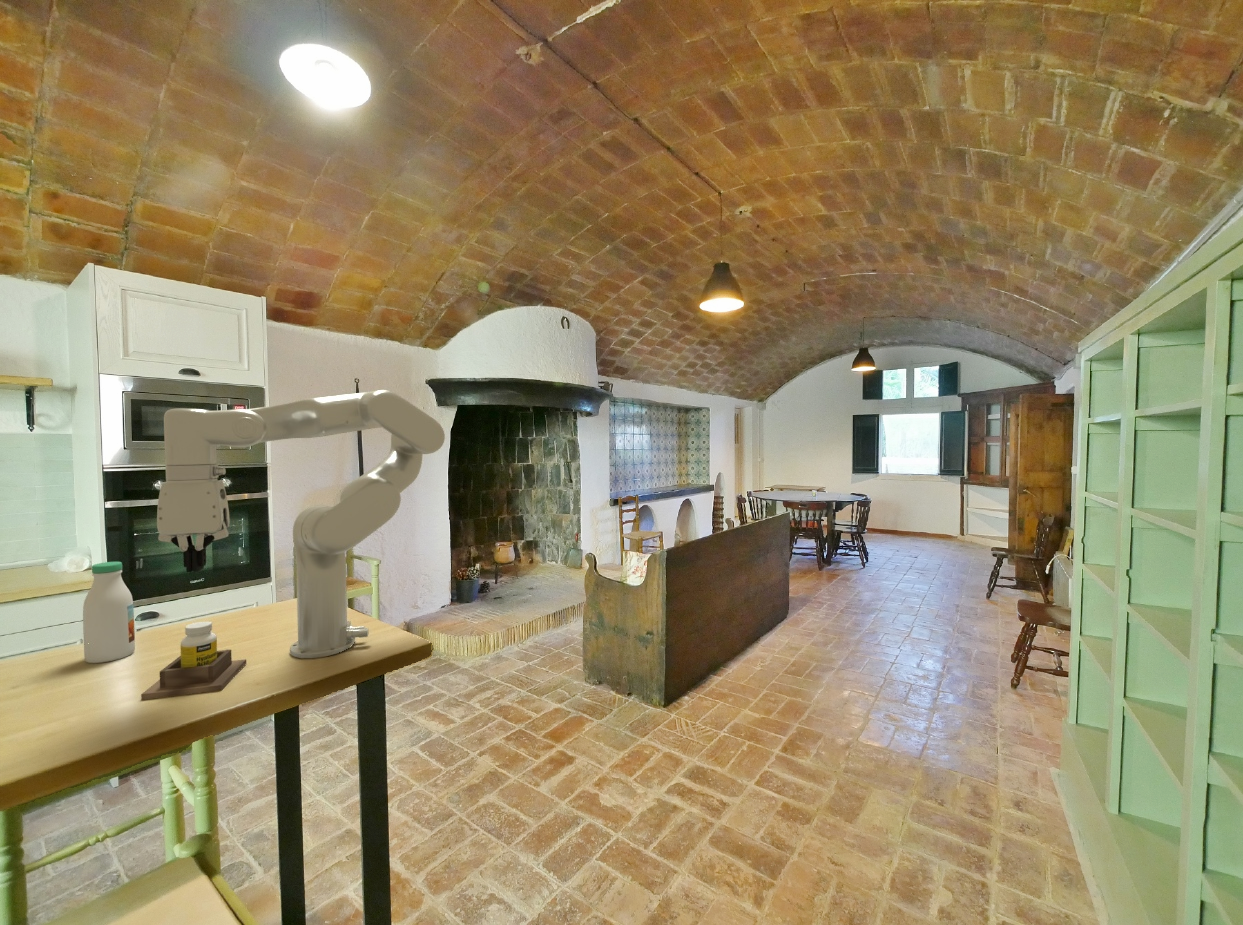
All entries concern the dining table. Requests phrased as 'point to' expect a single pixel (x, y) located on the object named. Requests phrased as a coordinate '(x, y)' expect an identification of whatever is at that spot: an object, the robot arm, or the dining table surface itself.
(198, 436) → the robot arm
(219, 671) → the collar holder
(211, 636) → the supplement bottle
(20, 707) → the dining table surface
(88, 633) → the milk bottle
